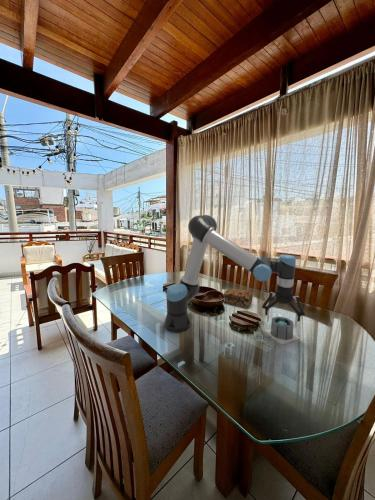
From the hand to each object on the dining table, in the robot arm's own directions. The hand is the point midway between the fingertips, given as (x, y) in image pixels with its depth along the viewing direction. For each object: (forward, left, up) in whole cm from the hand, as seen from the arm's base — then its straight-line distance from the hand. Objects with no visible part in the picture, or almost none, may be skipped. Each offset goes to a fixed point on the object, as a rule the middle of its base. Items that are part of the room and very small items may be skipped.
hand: (281, 323), depth 114 cm
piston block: (0, 0, -7) cm, 7 cm away
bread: (+2, +43, -7) cm, 43 cm away
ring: (0, 0, -6) cm, 6 cm away
